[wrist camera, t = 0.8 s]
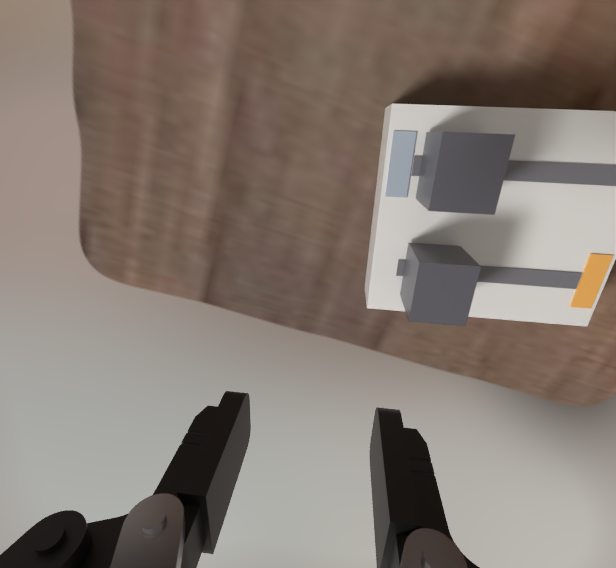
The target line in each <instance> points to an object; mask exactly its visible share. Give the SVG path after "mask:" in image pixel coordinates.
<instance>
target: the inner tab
mask: <svg viewBox="0 0 616 568" xmlns="http://www.w3.org/2000/svg"><path fill="white" fill-rule="evenodd" d="M514 138H515V134H490V133H465V132H426V138H425V144H424V150H423V156H422V162H421V169H420V175H419V181H418V187H417V193H416V199H417V200H418V201H419V202H420V203H421V204H422V205H423V206H424V207H425V208H426V209H427V210H428V211H437V212H454V213H471V214H488V215H495V211H496V207H497V204H498V200H499V196H500V192H501V188H502V184H503V181H504V177H505V173H506V169H507V165H508V161H509V157H510V154H511V150H512V146H513V142H514Z"/></svg>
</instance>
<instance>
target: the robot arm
mask: <svg viewBox="0 0 616 568" xmlns="http://www.w3.org/2000/svg"><path fill="white" fill-rule="evenodd" d="M249 403H250V402H249V394H248V393H239V392H229V391H226V392H225V394H224V395H223V397H222V399H221V402H220V404H219V406H218V407H215V406H207V407H206V408H205V409H204V410H203V411H201V412H200V413H199V414H198V415H197V416H196V417H195V419H194V420H193V422H192V424H191V426H190V428H189V430H188V433H187V434H186V435H185V437H184V439H183V441H182V444H181V445H180V446H179V448H178V450H177V452H176V454H175V456H174V457H173V459H172V461H171V463H170V465H169V467H168V468H167V470H166V472H165V474H164V476H163V478H162V479H161V481H160V483H159V485H158V487H157V489H156V490H155V492H154V494H153V495H152V496H150V497H148V498H146V499H144V500H142V501H141V502H139V503H138V504H137V505H136V506H135V507H134V508H133V509H132V510H131V511H130V513H129V514H126V515H124V516H120V517H117V518H112V519H107V520H103V521H97V522H92V523H88V524H87V523H86V520H85V518H84V517H83V515H82V514H80V513H78V512H77V511H61V512H58V513H54V514H52V515H50V516H48V517H46V518H44V519H42V520H41V521H39V522H38V523H37V524H35V525H34V526H33V527H32V528H31V529H30V530H28V531H27V532H26V533H25V534H24V535H23V536H21V537H20V538H19V539H18V540H17V541H16V542H15V543H14V544H12V545H11V546H10V547H9V548H8V549H7V550H6V551H4V552H3V553H2V554H1V555H0V568H196V567H197V564H198V561H199V558H200V556H201V553H202V552H203V553H210V554H213V552H214V549H215V546H216V543H217V540H218V537H219V534H220V531H221V528H222V525H223V521H224V518H225V515H226V512H227V509H228V506H229V503H230V500H231V497H232V493H233V490H234V487H235V484H236V481H237V478H238V475H239V472H240V469H241V466H242V462H243V459H244V456H245V453H246V450H247V447H248V443H249V438H250V404H249ZM370 470H371V485H372V498H373V499H372V500H373V513H374V514H373V515H374V530H375V543H376V560H377V568H479V567H477V566H476V565H475V564H473V563H472V562H471V561H470V560H469V559H467V558H466V557H465V556H464V555H463V554H462V552H461V551H460V550H459V548H458V547H457V545H456V544H455V543H454V541H453V539H452V537H451V535H450V532H449V529H448V526H447V521H446V518H445V514H444V510H443V506H442V502H441V498H440V494H439V490H438V486H437V482H436V478H435V476H434V470H433V467H432V463H431V459H430V455H429V451H428V447H427V443H426V442H425V441H424V439H423V438H422V436H421V435H420V434H419V432H418V431H417V429H410V428H403V422H402V418H401V413H400V411H399V410H395V409H384V408H376V411H375V416H374V423H373V430H372V436H371V443H370Z"/></svg>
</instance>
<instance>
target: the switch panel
mask: <svg viewBox="0 0 616 568" xmlns="http://www.w3.org/2000/svg"><path fill="white" fill-rule="evenodd" d="M426 132H465V133H490V134H515V138H514V142H513V146H512V150H511V154H510V157H509V161H508V165H507V169H506V173H505V177H504V181H503V184H502V188H501V192H500V196H499V200H498V204H497V207H496V211H495V215H488V214H471V213H454V212H437V211H428V210H427V209H426V208H425V207H424V206H423V205H422V204H421V203H420V202H419V201H418V200H417V199H416V193H417V187H418V181H419V175H420V169H421V162H422V156H423V150H424V144H425V138H426ZM408 243H423V244H438V245H453V246H461V247H462V248H463V249H464V250H465V251H466V252H467V253H468V254H469V255H470V256H471V257H472V258H473V259H474V260H475V261H476V262H477V263H478V264H479V265H480V266H481V269H480V273H479V277H478V281H477V284H476V288H475V292H474V296H473V300H472V304H471V308H470V311H469V315H468V317H480V318H492V319H504V320H516V321H528V322H540V323H552V324H564V325H576V326H587V325H588V323H589V321H590V318H591V316H592V314H593V311H594V309H595V307H596V304H597V302H598V299H599V297H600V295H601V292H602V290H603V288H604V285H605V283H606V281H607V278H608V276H609V274H610V271H611V269H612V267H613V264H614V262H615V260H616V111H597V110H567V109H538V108H509V107H479V106H450V105H421V104H390V105H389V106H388V107H386V108H385V116H384V124H383V133H382V141H381V150H380V159H379V167H378V176H377V185H376V193H375V202H374V211H373V219H372V228H371V237H370V245H369V254H368V263H367V271H366V280H365V295H366V304H367V308H372V309H384V310H396V311H405V309H404V306H403V302H402V299H401V296H400V291H401V285H402V279H403V273H404V267H405V261H406V254H407V248H408Z"/></svg>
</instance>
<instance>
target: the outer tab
mask: <svg viewBox="0 0 616 568" xmlns="http://www.w3.org/2000/svg"><path fill="white" fill-rule="evenodd" d="M480 269H481V266H480V265H479V264H478V263H477V262H476V261H475V260H474V259H473V258H472V257H471V256H470V255H469V254H468V253H467V252H466V251H465V250H464V249H463V248H462V247H461V246H453V245H438V244H423V243H408V248H407V254H406V261H405V267H404V273H403V279H402V285H401V291H400V296H401V299H402V302H403V306H404V309H405V312H406V315H407V318H408V321H409V322H421V323H432V324H444V325H456V326H466V323H467V319H468V315H469V311H470V308H471V304H472V300H473V296H474V292H475V288H476V284H477V281H478V277H479V273H480Z"/></svg>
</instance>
